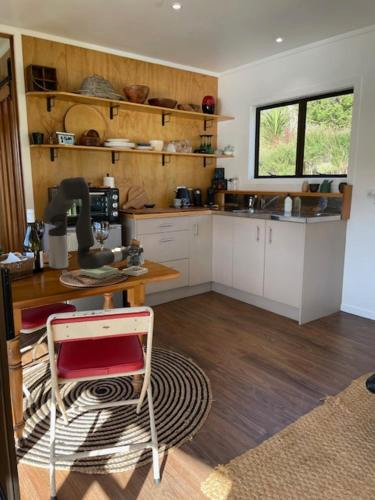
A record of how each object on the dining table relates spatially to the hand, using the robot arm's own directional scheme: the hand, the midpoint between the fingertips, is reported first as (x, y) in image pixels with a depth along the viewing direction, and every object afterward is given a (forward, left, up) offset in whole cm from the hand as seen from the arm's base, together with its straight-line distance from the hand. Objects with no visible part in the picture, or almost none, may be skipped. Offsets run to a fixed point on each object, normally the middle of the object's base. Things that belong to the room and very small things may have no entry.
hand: (138, 249), depth 191 cm
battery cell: (0, -3, -8) cm, 8 cm away
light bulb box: (-11, +11, -12) cm, 20 cm away
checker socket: (0, -3, -12) cm, 12 cm away
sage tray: (-13, -15, -12) cm, 23 cm away
